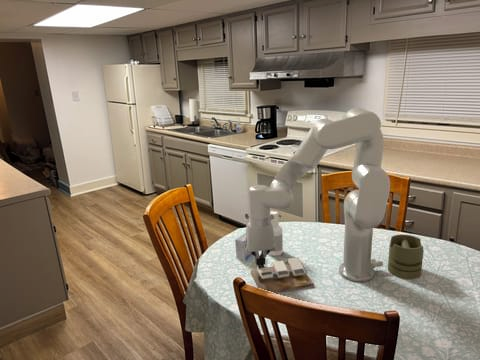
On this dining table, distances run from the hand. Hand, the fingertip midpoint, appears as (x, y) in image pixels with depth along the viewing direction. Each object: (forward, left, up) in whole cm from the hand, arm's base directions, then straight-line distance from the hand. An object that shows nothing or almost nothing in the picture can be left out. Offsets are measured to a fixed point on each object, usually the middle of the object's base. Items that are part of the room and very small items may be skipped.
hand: (260, 266), depth 135 cm
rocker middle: (-7, +4, -1) cm, 7 cm away
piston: (-52, +12, -5) cm, 53 cm away
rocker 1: (-1, +4, -1) cm, 4 cm away
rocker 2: (-13, +4, -1) cm, 13 cm away
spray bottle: (-11, -16, -5) cm, 20 cm away
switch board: (-7, +4, -5) cm, 9 cm away
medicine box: (+1, -17, -5) cm, 18 cm away
